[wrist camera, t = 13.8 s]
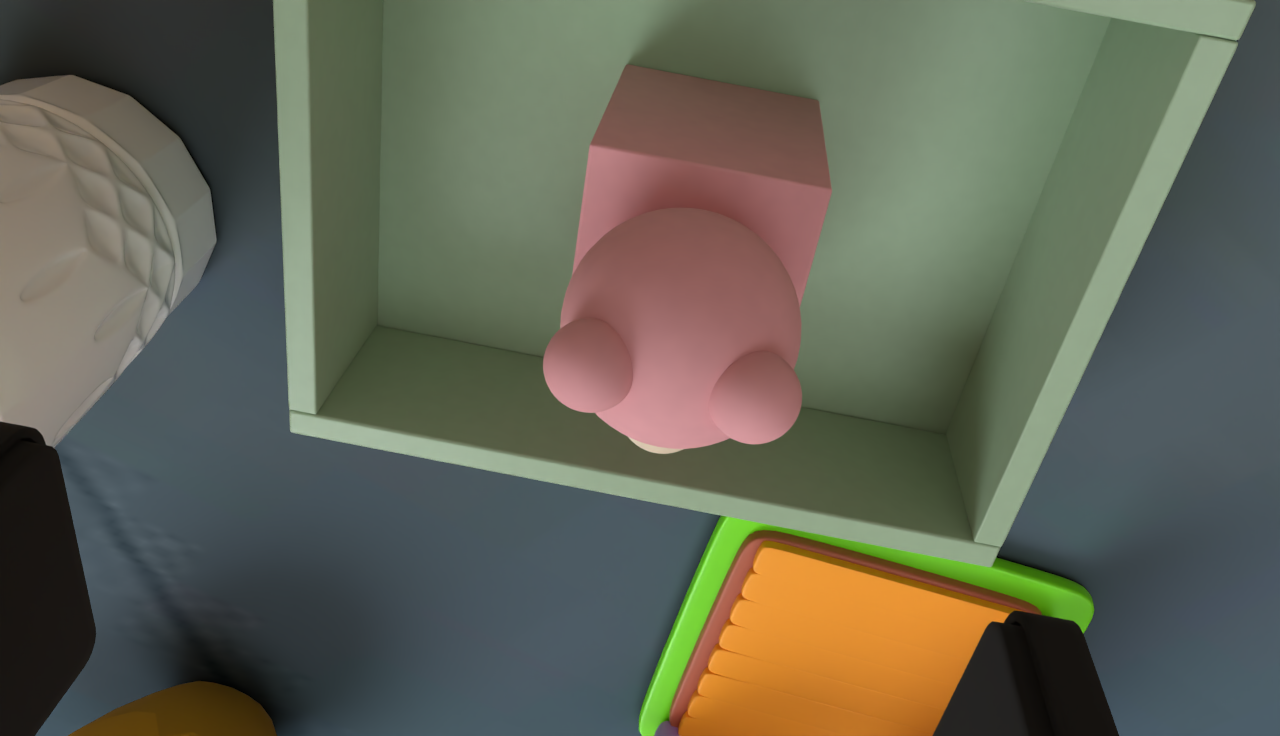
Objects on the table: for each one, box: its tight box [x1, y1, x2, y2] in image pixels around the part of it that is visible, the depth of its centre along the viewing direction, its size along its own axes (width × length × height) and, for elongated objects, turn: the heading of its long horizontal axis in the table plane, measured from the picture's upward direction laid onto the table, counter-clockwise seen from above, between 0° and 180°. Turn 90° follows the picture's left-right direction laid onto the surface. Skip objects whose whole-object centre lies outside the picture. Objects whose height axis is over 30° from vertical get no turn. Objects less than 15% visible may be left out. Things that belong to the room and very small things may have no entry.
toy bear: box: [543, 64, 832, 454], centre depth 21 cm, size 5×5×10 cm
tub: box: [273, 0, 1256, 567], centre depth 23 cm, size 13×17×5 cm
